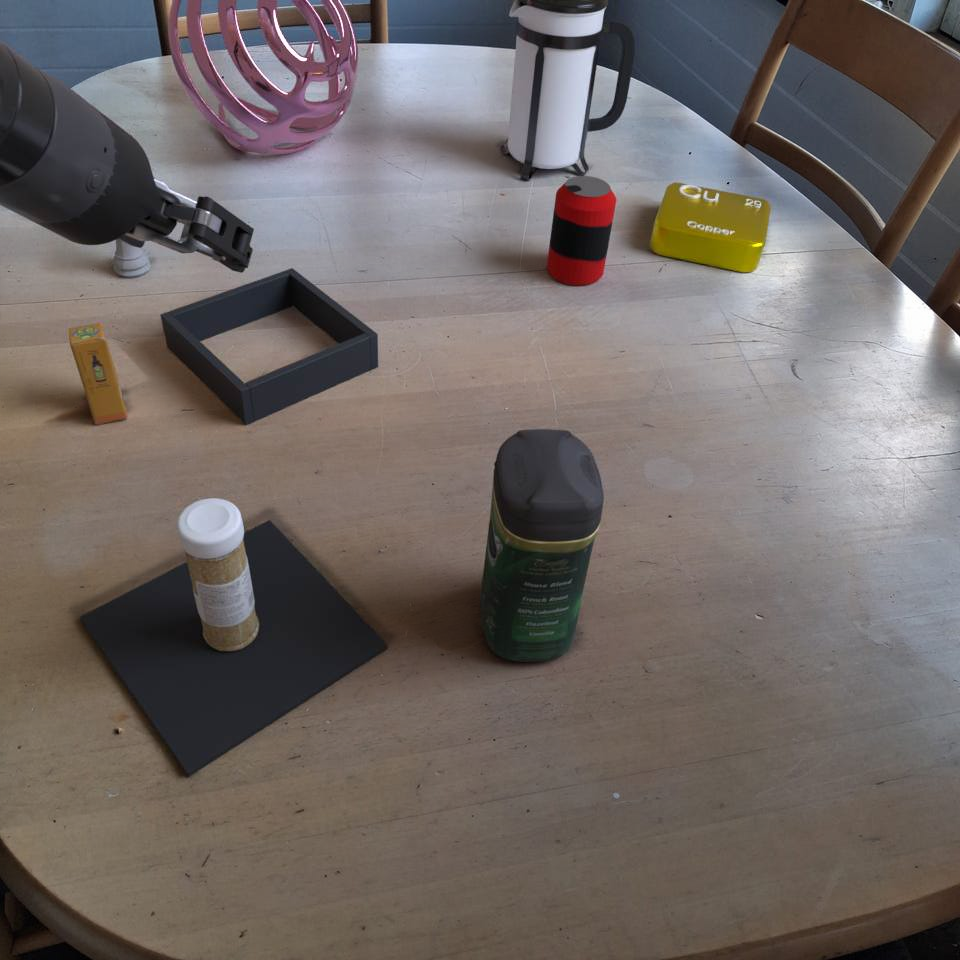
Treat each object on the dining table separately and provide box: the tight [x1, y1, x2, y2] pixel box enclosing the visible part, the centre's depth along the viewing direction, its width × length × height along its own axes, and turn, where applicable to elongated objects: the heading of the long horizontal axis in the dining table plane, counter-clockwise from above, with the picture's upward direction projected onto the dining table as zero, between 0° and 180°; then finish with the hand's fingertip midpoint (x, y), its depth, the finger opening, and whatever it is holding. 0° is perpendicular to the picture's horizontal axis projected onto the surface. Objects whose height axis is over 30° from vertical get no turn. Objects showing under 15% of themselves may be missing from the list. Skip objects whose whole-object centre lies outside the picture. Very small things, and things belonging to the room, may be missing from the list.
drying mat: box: [79, 519, 389, 778], centre depth 74 cm, size 18×18×1 cm
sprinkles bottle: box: [176, 497, 259, 651], centre depth 69 cm, size 5×5×14 cm
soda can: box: [546, 175, 617, 287], centre depth 116 cm, size 8×8×12 cm
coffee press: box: [499, 0, 636, 182], centre depth 134 cm, size 17×16×30 cm
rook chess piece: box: [112, 239, 152, 279], centre depth 111 cm, size 4×4×8 cm
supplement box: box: [68, 322, 128, 426], centre depth 90 cm, size 3×3×10 cm
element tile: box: [649, 182, 772, 273], centre depth 127 cm, size 15×15×5 cm
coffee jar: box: [479, 428, 605, 663], centre depth 71 cm, size 10×8×19 cm
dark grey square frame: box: [160, 267, 379, 426], centre depth 101 cm, size 17×17×4 cm
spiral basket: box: [167, 0, 359, 155], centre depth 135 cm, size 28×28×27 cm
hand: (192, 246), depth 67 cm, fingers open, 8 cm apart
